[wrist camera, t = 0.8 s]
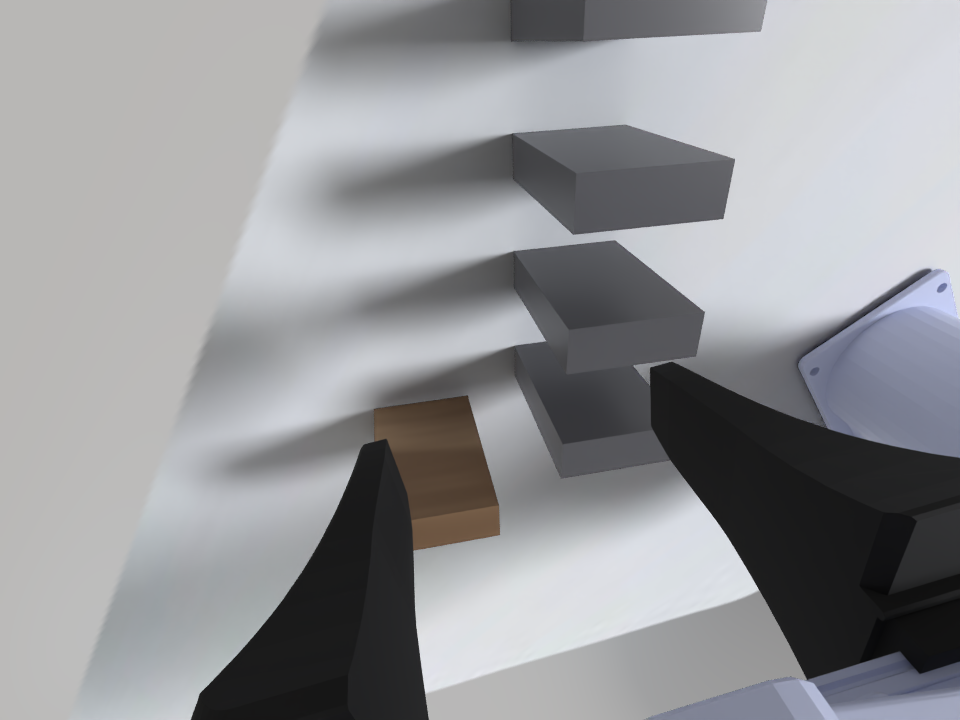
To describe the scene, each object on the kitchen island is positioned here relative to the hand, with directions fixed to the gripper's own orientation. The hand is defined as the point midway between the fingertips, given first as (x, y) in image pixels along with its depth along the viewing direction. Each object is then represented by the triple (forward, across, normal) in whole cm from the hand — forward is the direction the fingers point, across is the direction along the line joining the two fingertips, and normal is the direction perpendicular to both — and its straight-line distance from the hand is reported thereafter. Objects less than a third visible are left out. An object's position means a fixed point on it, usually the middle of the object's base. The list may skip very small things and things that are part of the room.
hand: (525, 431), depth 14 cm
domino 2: (+10, -6, -9) cm, 14 cm away
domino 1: (+10, +3, +6) cm, 12 cm away
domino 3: (+10, -5, -4) cm, 12 cm away
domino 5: (+10, -4, +4) cm, 11 cm away
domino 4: (+10, -4, 0) cm, 11 cm away
